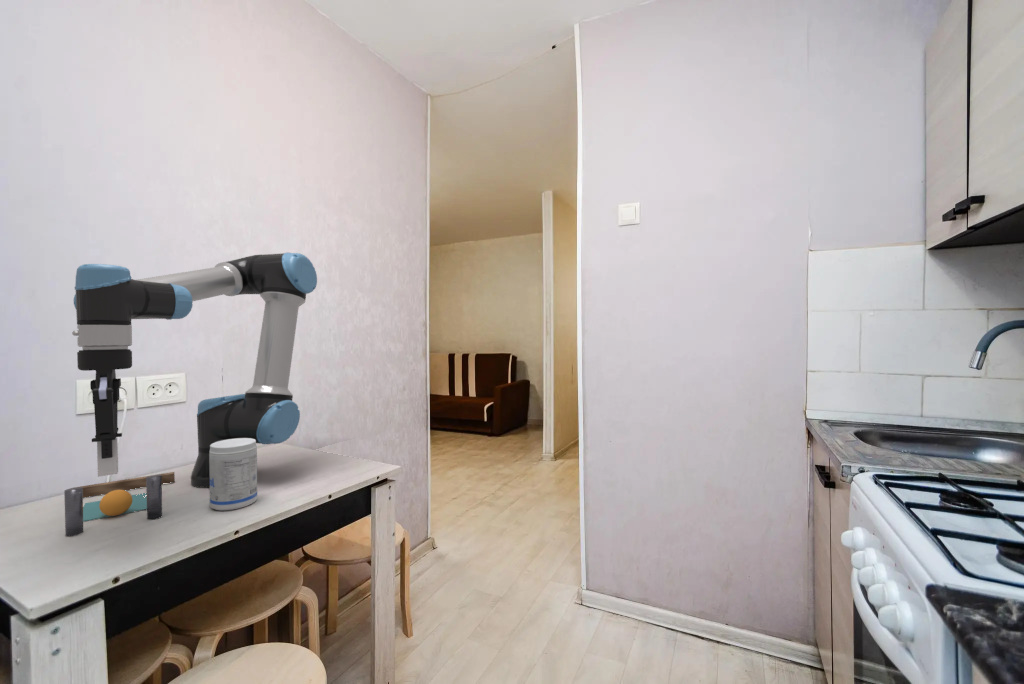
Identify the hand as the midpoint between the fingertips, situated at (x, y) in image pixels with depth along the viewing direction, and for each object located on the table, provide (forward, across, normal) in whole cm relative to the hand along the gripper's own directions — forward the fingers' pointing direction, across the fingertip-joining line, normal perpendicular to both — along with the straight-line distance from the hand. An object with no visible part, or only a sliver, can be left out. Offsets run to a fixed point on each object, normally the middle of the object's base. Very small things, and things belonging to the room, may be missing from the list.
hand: (108, 474), depth 83 cm
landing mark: (+14, -27, 0) cm, 30 cm away
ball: (+11, -20, 0) cm, 23 cm away
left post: (+14, -13, -6) cm, 20 cm away
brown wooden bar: (+14, -41, 0) cm, 43 cm away
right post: (+14, -13, +6) cm, 20 cm away
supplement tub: (+14, -11, +21) cm, 28 cm away
